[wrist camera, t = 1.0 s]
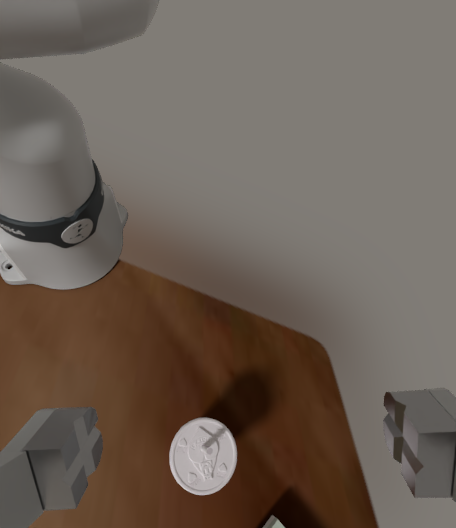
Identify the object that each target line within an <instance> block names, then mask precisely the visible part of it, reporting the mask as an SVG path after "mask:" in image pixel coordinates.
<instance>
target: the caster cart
mask: <svg viewBox="0 0 456 528" xmlns="http://www.w3.org/2000/svg"><path fill="white" fill-rule="evenodd" d="M263 528H285V527H284V526H283V525H282V524H281V522H280V521H279V520H278V519H277V518H276V517H274V516H273V515H272V516H271V517H270V518H269V520H268V521H267V522H266V524H265V525H264V526H263Z"/></svg>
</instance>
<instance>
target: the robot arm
mask: <svg viewBox="0 0 456 528" xmlns="http://www.w3.org/2000/svg"><path fill="white" fill-rule="evenodd" d="M158 3H159V0H0V59H13V58H28V57H42V56H57V55H71V54H84V53H88V52H91V51H95V50H98V49H101V48H105V47H108V46H112V45H115V44H118V43H121V42H123V41H127V40H129V39H133V38H135V37H138V36H141V35H142V34H144V32H145V31H146V29H147V28H148V26H149V25H150V23H151V21H152V19H153V16H154V14H155V12H156V9H157V6H158ZM127 219H128V213H127V210H126V209H125V208H124V207H123V206H122V205H120V204H119V203H118V202H116V200H115V196H114V193H113V190H112V188H111V187H110V186H109V185H106V184H105V183H104V182H102V179H101V175H100V173H99V171H98V168H97V166H96V164H95V163H94V161H93V160H92V158H91V154H90V150H89V146H88V142H87V138H86V134H85V129H84V125H83V122H82V119H81V117H80V115H79V113H78V111H77V110H76V108H75V107H74V105H73V104H72V103H71V102H70V101H69V100H68V99H67V98H66V97H65V96H64V95H63V94H62V93H61V92H60V91H58V90H57V89H56V88H55V87H53V86H52V85H51V84H49V83H48V82H46V81H45V80H43V79H41V78H39V77H37V76H35V75H33V74H30V73H27V72H25V71H22V70H19V69H16V68H14V67H11V66H8V65H5V64H3V63H1V62H0V273H1V276H2V278H3V279H4V281H5V282H6V283H8V284H13V285H19V284H37V285H40V286H44V287H47V288H53V289H74V288H79V287H83V286H86V285H88V284H91V283H93V282H95V281H97V280H98V279H100V278H102V277H103V276H104V275H106V274H107V273H108V272H109V271H110V270H111V269H112V268H113V266H114V265H115V264H116V262H117V260H118V259H119V256H120V254H121V251H122V246H123V236H122V233H123V227H124V226H125V224H126V221H127ZM9 266H13V267H12V268H11V269H7V268H8V267H9ZM384 406H385V408H386V410H387V411H388V415H387V416H386V417H385V418H384V420H383V422H384V423H383V424H384V427H383V428H384V435H385V440H386V444H387V446H388V449H389V451H390V453H391V455H392V457H393V458H394V459H395V460H396V461H398V462H399V463H401V464H402V465H401V474H402V476H403V477H404V479H405V481H406V483H407V484H408V486H409V488H410V490H411V492H412V494H413V495H414V497H415V498H428V497H429V498H434V497H435V498H448V497H451V498H452V500H454V501H455V502H456V397H455V396H454V395H453V394H452V393H451V392H450V391H449V390H447V389H445V388H435V389H424V390H415V391H399V392H386V394H385V396H384ZM97 420H98V417H97V413H96V410H95V409H94V408H92V407H76V408H49V409H41V410H38V411H37V412H36V413H35V414H34V415H33V416H32V418H31V419H30V420H29V421H28V422H27V423H26V424H25V425H24V427H23V428H22V429H21V430H20V431H19V432H18V433H17V434H16V436H15V437H14V438H13V439H12V440H11V441H10V442H9V443H8V444H7V446H6V447H5V448H4V449H3V450H2V451H1V452H0V528H28V527H29V526H30V525H31V524H32V523H33V522H34V521H35V520H36V519H37V518H38V517H39V516H40V515H41V514H42V513H43V511H45V510H60V509H76V508H77V506H78V504H79V502H80V500H81V498H82V496H83V494H84V492H85V490H86V488H87V486H88V482H87V477H88V476H89V475H90V474H91V473H92V472H94V471H95V470H96V468H97V466H98V464H99V462H100V459H101V454H102V450H103V440H102V435H101V432H100V431H99V430H98V429H97V428H96V427H95V424H96V422H97Z"/></svg>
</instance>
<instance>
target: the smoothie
mask: <svg viewBox="0 0 456 528" xmlns="http://www.w3.org/2000/svg"><path fill="white" fill-rule="evenodd" d="M236 461H237V448H236V443H235V440H234V438H233V436H232V434H231V432H230V431H229V429H228V428H227V427H226V426H225V425H224V424H222V423H221V422H219V421H217V420H215V419H211V418H206V417H204V418H196V419H194V420H191V421H189V422H188V423H186V424H185V425H184V426H182V427H181V429H180V430H179V431H178V432H177V434H176V435H175V437H174V439H173V442H172V444H171V449H170V467H171V471H172V474H173V476H174V477H175V479H176V481H177V483H178V484H179V485H180V486H181V487H183V488H184V489H185V490H187V491H188V492H190V493H193V494H197V495H208V494H212V493H214V492H216V491H218V490H220V489H221V488H222V487H223V486H224V485H225V484H226V483H227V482H228V481H229V479H230V478H231V476H232V474H233V472H234V469H235V466H236Z"/></svg>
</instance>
